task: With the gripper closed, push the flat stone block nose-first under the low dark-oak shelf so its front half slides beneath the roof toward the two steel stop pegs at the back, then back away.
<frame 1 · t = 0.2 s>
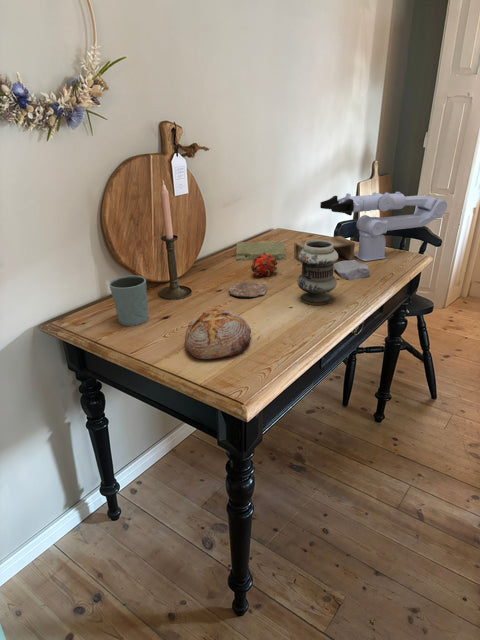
hand: (326, 206, 168), 22 cm above the table, tool horizontal, fingers open, 7 cm apart
stone block: (349, 275, 168), on the table
teal cup: (133, 320, 138), on the table
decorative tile: (260, 255, 192), on the table
oak shelf: (323, 258, 184), on the table
apothecary jar: (316, 299, 148), on the table
shell: (247, 293, 155), on the table
dragon fruit: (263, 275, 169), on the table
bread: (218, 345, 123), on the table
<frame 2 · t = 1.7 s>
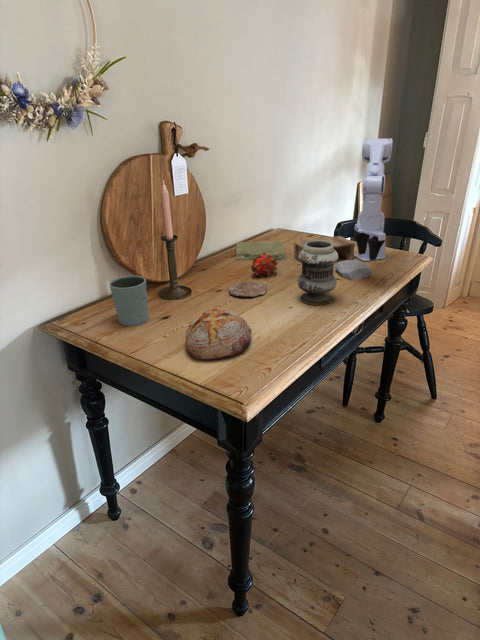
hand: (367, 256, 154), 9 cm above the table, tool pointing down, fingers open, 6 cm apart
nothing on the table moved.
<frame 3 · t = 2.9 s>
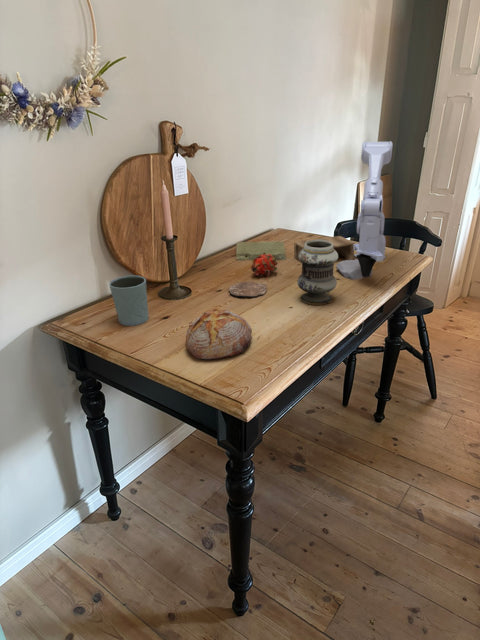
hand: (365, 276, 157), 3 cm above the table, tool pointing down, fingers closed
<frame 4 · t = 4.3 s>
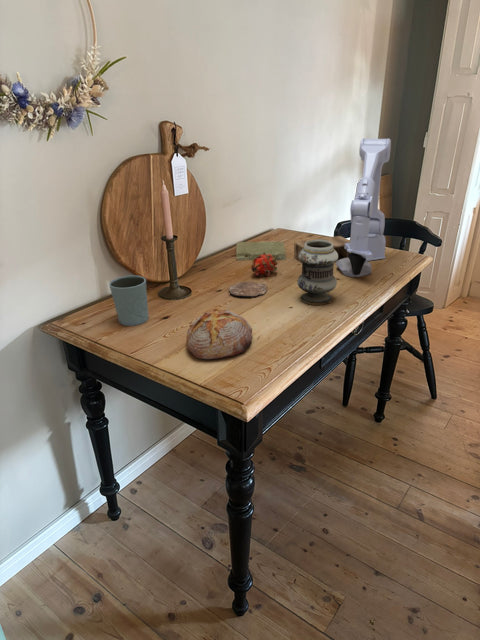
hand: (356, 274, 163), 1 cm above the table, tool pointing down, fingers closed
stone block: (351, 272, 170), on the table, touching gripper
everything else where it was.
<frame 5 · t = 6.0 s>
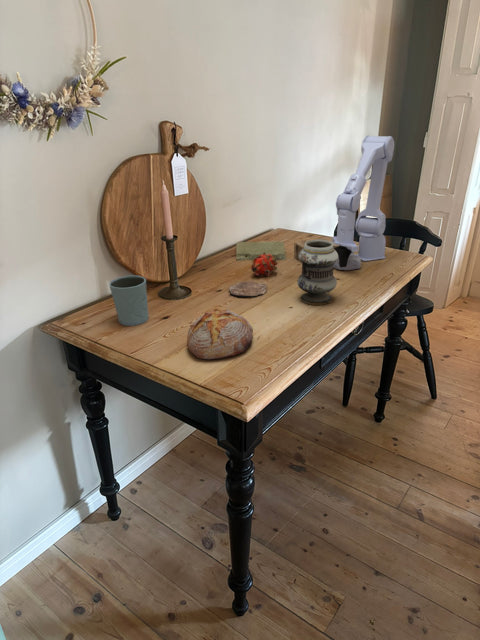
hand: (342, 266, 169), 2 cm above the table, tool pointing down, fingers closed, pressing on stone block
stone block: (343, 265, 175), on the table, touching gripper, oak shelf
everything else where it was.
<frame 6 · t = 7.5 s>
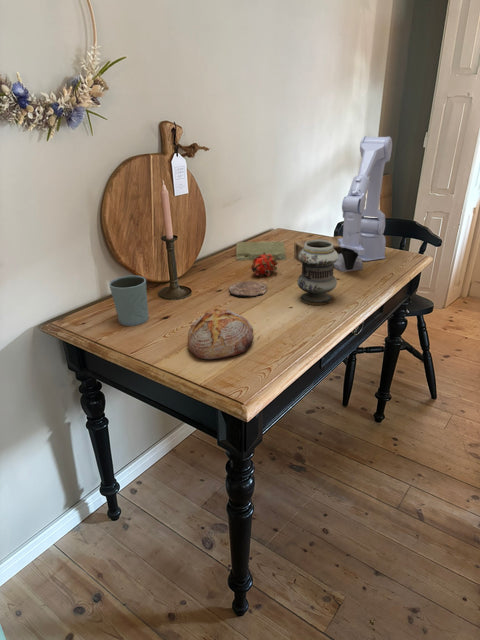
hand: (349, 269, 167), 2 cm above the table, tool pointing down, fingers closed
stone block: (344, 267, 175), on the table, touching oak shelf
everything else where it was.
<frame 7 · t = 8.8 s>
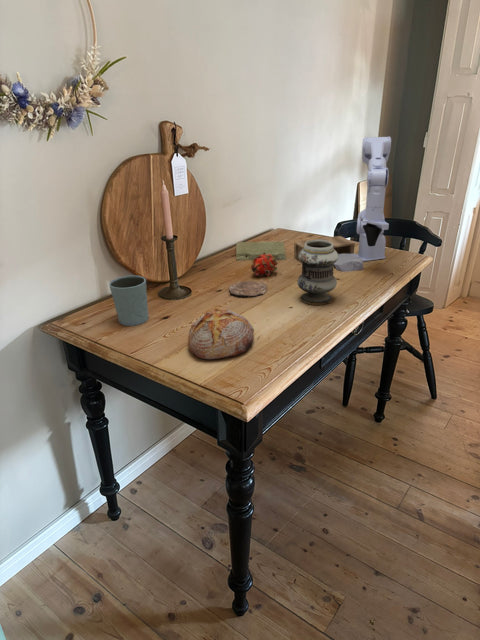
hand: (371, 245, 163), 10 cm above the table, tool pointing down, fingers closed
stone block: (345, 267, 175), on the table
everything else where it was.
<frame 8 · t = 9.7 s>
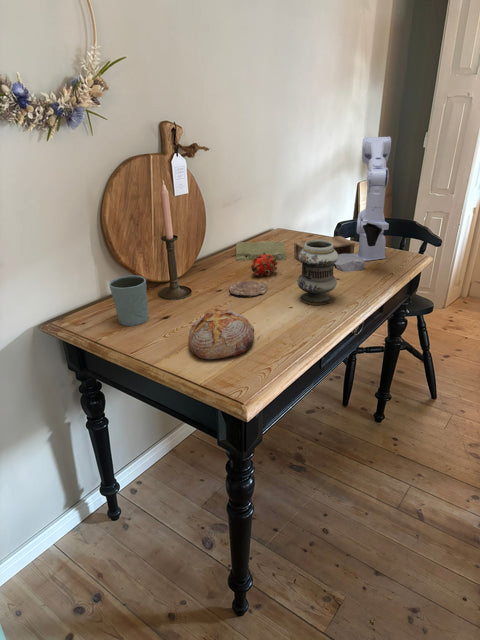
hand: (371, 245, 163), 10 cm above the table, tool pointing down, fingers closed
nothing on the table moved.
at the end: stone block inside the target area (5.6 cm from its centre), on the table; stone block moved 8.5 cm from its start; the gripper is holding nothing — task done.
